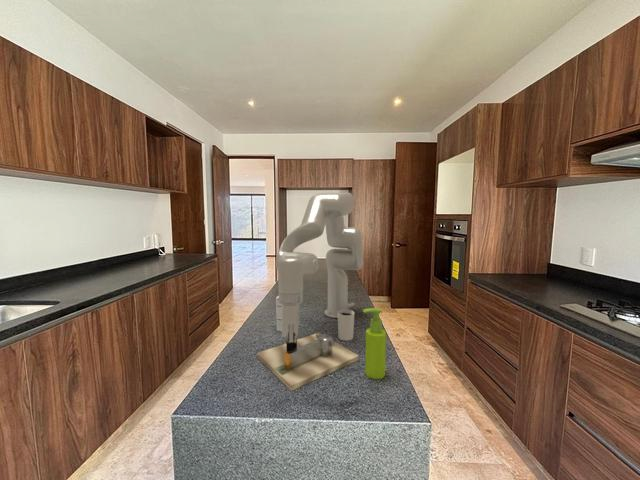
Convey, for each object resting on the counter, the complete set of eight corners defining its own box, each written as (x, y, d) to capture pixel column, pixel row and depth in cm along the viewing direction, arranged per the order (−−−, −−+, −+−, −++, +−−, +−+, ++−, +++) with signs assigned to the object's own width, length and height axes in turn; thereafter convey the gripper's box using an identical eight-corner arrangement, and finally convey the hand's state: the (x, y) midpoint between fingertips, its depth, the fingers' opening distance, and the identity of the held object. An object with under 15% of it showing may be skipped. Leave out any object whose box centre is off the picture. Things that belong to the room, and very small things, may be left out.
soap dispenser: (359, 368, 85) (360, 306, 83) (381, 367, 85) (382, 305, 83) (364, 379, 79) (365, 313, 77) (387, 378, 79) (389, 312, 77)
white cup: (335, 339, 104) (335, 314, 103) (339, 332, 110) (340, 308, 109) (352, 342, 102) (352, 316, 101) (356, 334, 108) (356, 310, 107)
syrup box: (289, 332, 110) (289, 297, 109) (276, 331, 111) (275, 296, 110) (294, 326, 116) (293, 293, 115) (280, 325, 117) (280, 292, 116)
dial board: (318, 336, 107) (318, 332, 107) (358, 360, 89) (359, 355, 89) (257, 357, 91) (256, 352, 91) (291, 391, 74) (291, 385, 74)
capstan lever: (322, 345, 95) (322, 331, 95) (338, 354, 89) (338, 339, 89) (277, 364, 83) (277, 348, 83) (292, 376, 77) (292, 359, 77)
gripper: (279, 290, 90) (280, 342, 92) (277, 305, 76) (278, 367, 77) (302, 289, 91) (303, 341, 93) (303, 304, 76) (304, 366, 78)
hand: (291, 353), depth 85 cm, fingers closed
